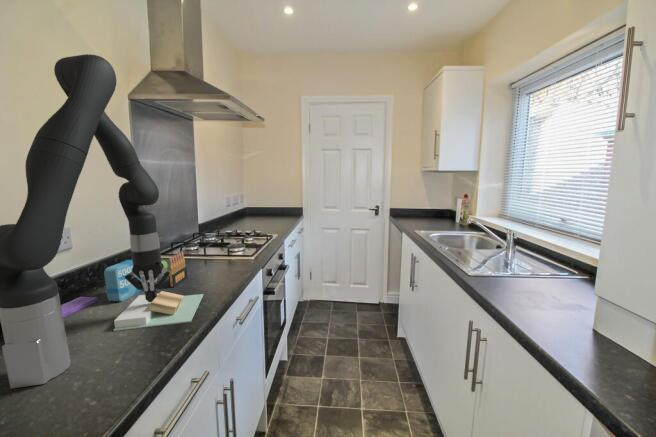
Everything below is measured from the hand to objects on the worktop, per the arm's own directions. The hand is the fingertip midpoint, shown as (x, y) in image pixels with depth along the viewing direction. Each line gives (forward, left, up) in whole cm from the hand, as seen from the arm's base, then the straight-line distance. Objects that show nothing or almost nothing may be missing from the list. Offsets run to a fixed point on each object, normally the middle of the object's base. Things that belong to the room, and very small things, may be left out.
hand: (152, 301), depth 93 cm
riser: (0, +3, -4) cm, 5 cm away
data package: (+17, +14, -4) cm, 22 cm away
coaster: (0, -4, -2) cm, 5 cm away
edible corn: (+39, +12, -4) cm, 41 cm away
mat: (0, -3, -4) cm, 5 cm away
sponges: (+10, +28, -4) cm, 30 cm away
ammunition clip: (+26, -1, -4) cm, 26 cm away
